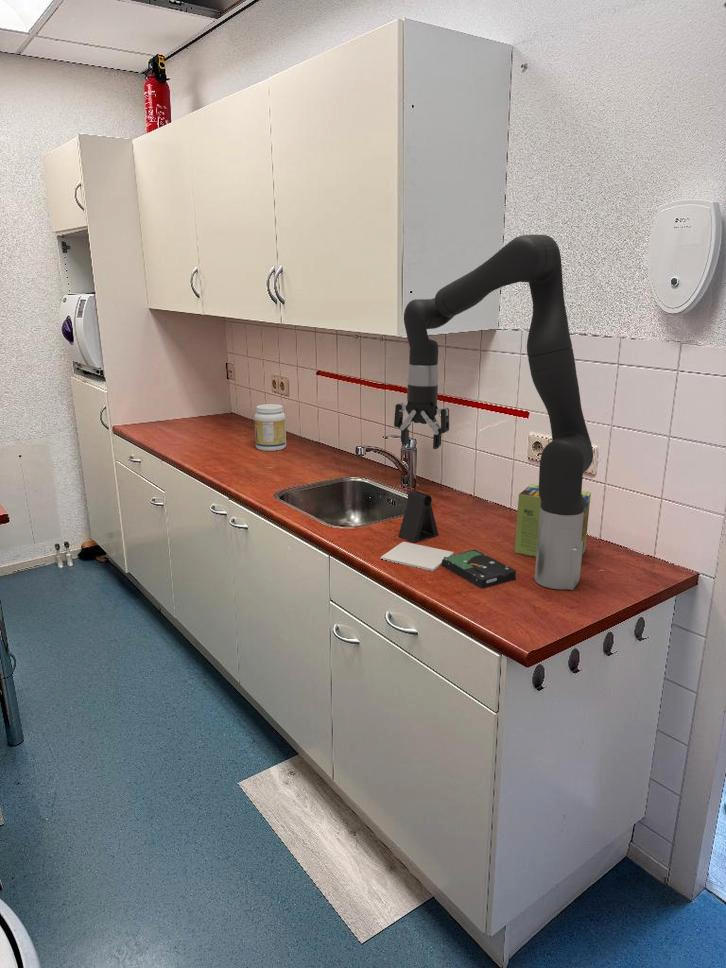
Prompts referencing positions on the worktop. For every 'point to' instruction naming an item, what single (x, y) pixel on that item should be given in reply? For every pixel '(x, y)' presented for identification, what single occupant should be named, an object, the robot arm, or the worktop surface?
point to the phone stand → (418, 518)
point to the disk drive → (479, 568)
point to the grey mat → (417, 556)
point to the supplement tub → (270, 427)
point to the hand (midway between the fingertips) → (420, 446)
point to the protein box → (537, 520)
